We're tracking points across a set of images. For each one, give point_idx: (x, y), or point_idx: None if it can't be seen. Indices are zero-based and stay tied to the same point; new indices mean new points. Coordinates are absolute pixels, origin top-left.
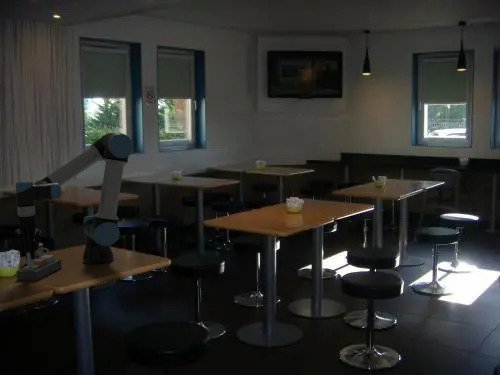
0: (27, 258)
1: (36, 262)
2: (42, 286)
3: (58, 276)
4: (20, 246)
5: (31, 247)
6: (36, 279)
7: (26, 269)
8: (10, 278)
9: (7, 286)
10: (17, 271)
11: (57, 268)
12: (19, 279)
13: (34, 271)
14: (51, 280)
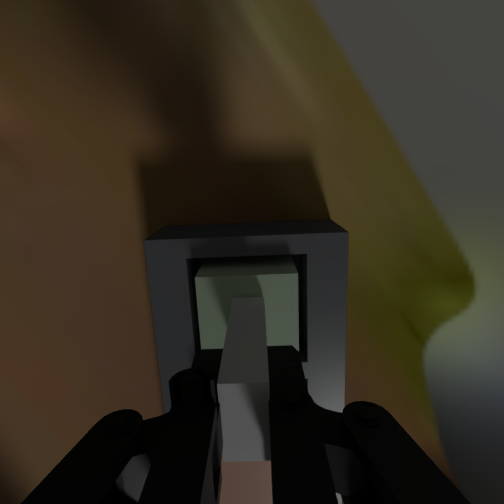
0: (261, 339)
1: None
2: (6, 73)
3: (77, 337)
4: (420, 474)
5: (151, 463)
6: (167, 226)
7: (265, 270)
8: (410, 252)
9: (302, 31)
10: (338, 232)
11: None
12: (312, 220)
13: (168, 246)
14: (56, 239)
